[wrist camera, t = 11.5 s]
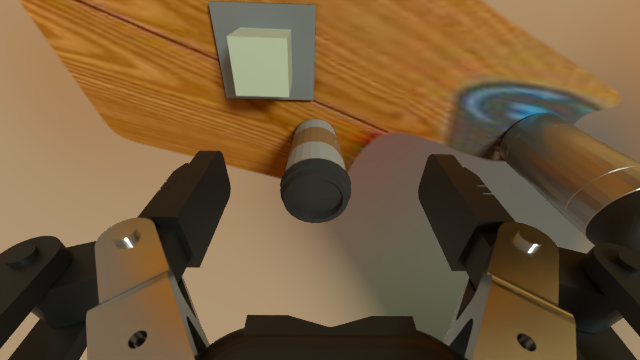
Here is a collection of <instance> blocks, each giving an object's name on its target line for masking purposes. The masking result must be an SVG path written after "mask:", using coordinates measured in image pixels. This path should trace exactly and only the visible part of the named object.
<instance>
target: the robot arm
mask: <svg viewBox="0 0 640 360" xmlns="http://www.w3.org/2000/svg"><path fill="white" fill-rule="evenodd" d="M499 152H500V155H501V157H502V158H503V159H504V160H505V161H506V162H507V163H508V164H509V165H510V166H511V167H512V168H513V169H514V170H515V171H516V172H517V173H518V174H519V175H520V176H521V177H523V179H525V180H526V181H527V182H528V183H529V184H530V185H531V186H532V187H533V188H534V189H535V190H536V191H537V192H538V193H539V194H540V195H541V196H543V197H544V198H545V199H546V200H547V201H548V202H549V203H550V204H551V205H552V206H553V207H554V208H555V209H556V210H557V211H558V212H559V213H561V214H562V215H563V216H564V217H565V218H566V219H567V220H568V221H569V222H570V223H571V224H572V225H573V226H574V227H576V228H577V229H578V230H579V231H580V232H581V233H582V234H583V235H584V236H585V237H586V238H587V239H589V241H591V242H592V243H593V244H594V245H595V247H593V248H592V249H591V250H590V251H589V252H588V253H587V254H585V253H581V252H577V251H573V250H569V249H564V248H560V247H557V245H556V243H555V242H554V241H553V240H552V239H551V238H550V237H549V236H548V235H546V234H545V233H544V232H542V231H540V230H539V229H537V228H535V227H533V226H530V225H527V224H524V223H519V222H515V220H514V219H513V218H512V217H511V216H510V215H509V213H508V212H507V211H506V210H505V209H504V207H503V206H502V205H501V204H500V202H499V201H498V200H497V199H496V197H495V196H494V195H492V194H491V191H490V190H489V189H488V188H487V187H485V184H484V183H483V182H482V180H481V179H480V178H479V177H478V176H477V175H476V174H474V173H473V172H471V171H470V170H468V169H467V168H465V167H464V168H463V167H462V166H461V165H460V163H459V162H458V161H457V160H456V158H455V157H454V156H453V155H451V154H449V155H448V154H447V155H446V154H431V155H430V156H429V157H428V160H427V162H426V166H425V169H424V172H423V175H422V178H421V182H420V185H419V190H418V193H419V200H420V203H421V205H422V207H423V209H424V211H425V213H426V216H427V218H428V220H429V222H430V224H431V227H432V229H433V231H434V233H435V235H436V237H437V239H438V242H439V244H440V246H441V248H442V250H443V252H444V255H445V257H446V259H447V261H448V263H449V266H450V268H451V270H452V271H466V272H467V274H468V276H469V277H468V279H467V280H466V282H465V285H464V288H463V291H462V294H461V297H460V300H459V303H458V306H457V308H456V312H455V315H454V317H453V321H452V324H451V326H450V329H449V331H448V333H447V335H446V337H445V339H444V341H443V342H442V341H440V340H438V339H437V338H435V337H433V336H431V335H429V334H426V333H424V332H421V331H418V330H416V328H415V324H414V320H413V317H412V316H371V317H367V318H363V319H360V320H356V321H353V322H349V323H346V324H342V325H339V326H335V327H326V326H323V325H319V324H316V323H313V322H309V321H306V320H302V319H299V318H295V317H292V316H288V315H247V319H246V323H245V328H243V329H239V330H237V331H234V332H232V333H229V334H227V335H226V336H224V337H222V338H220V339H218V340H217V341H215V342H214V343H212V344H211V345H210V344H209V342H208V340H207V338H206V335H205V333H204V331H203V329H202V327H201V324H200V322H199V319H198V316H197V313H196V311H195V308H194V305H193V303H192V300H191V297H190V295H189V292H188V289H187V287H186V284H185V281H184V279H183V277H182V275H183V273H184V271H185V269H186V267H200V265H201V262H202V260H203V258H204V256H205V253H206V251H207V248H208V246H209V244H210V242H211V239H212V237H213V235H214V232H215V230H216V228H217V225H218V223H219V221H220V218H221V216H222V214H223V211H224V208H225V207H226V204H227V202H228V200H229V197H230V182H229V177H228V173H227V169H226V165H225V161H224V157H223V154H222V152H221V151H199V152H198V153H197V154H196V155H195V157H194V158H193V159H192V161H191V162H190V163H189V164H188V163H185V164H184V165H182V166H181V167H179V168H178V169H176V170H175V171H174V172H173V173H172V174H171V176H170V177H169V178H168V179H167V182H165V183H164V184H163V186H162V187H161V190H159V191H158V192H157V193H156V195H155V196H154V197H153V199H152V200H151V201H150V202H149V204H148V205H147V206H146V207H145V209H144V210H143V211H142V212H141V214H140V215H139V216H138V217H137V218H132V219H128V220H125V221H122V222H119V223H117V224H115V225H113V226H112V227H110V228H109V229H107V230H106V231H105V232H103V233H102V234H101V236H100V237H99V238H98V240H97V241H94V242H90V243H86V244H81V245H76V246H72V247H67V248H66V247H65V246H64V245H63V243H62V242H61V241H60V240H59V239H58V238H56V237H53V236H41V237H36V238H32V239H29V240H26V241H23V242H21V243H19V244H16V245H14V246H12V247H11V248H9V249H8V250H6V251H4V252H3V253H1V254H0V348H1V347H2V346H3V345H4V343H5V342H6V341H7V340H8V339H9V337H10V336H11V335H12V334H13V333H14V331H15V330H16V329H17V328H18V326H19V325H20V324H21V322H23V320H24V319H25V318H26V317H27V315H28V314H29V313H30V312H32V313H33V314H35V315H36V316H37V317H39V318H40V320H39V321H38V322H37V323H36V325H35V326H34V327H33V329H32V330H31V331H30V332H29V334H28V335H27V336H26V337H25V339H24V340H23V341H22V343H21V344H20V345H19V347H18V348H17V349H16V350H15V352H14V353H13V354H12V356H11V357H10V358H9V359H8V360H79V359H80V357H81V355H82V354H83V352H84V350H85V349H86V347H87V356H88V360H637V359H636V358H635V357H634V355H633V354H632V353H631V351H630V350H629V349H628V348H627V346H626V345H625V344H624V343H623V341H622V340H621V339H620V338H619V336H618V335H617V334H616V333H615V331H614V330H613V329H612V328H611V326H612V325H613V324H615V323H616V322H617V321H619V320H621V319H622V318H624V319H625V320H626V321H627V322H628V323H629V325H631V327H632V328H633V329H634V330H635V332H636V333H637V334H638V335H639V336H640V162H639V161H637V160H635V159H633V158H631V157H630V156H628V155H626V154H624V153H622V152H621V151H619V150H617V149H615V148H613V147H612V146H610V145H608V144H606V143H604V142H603V141H601V140H599V139H597V138H595V137H594V136H592V135H590V134H588V133H586V132H585V131H583V130H581V129H579V128H578V127H576V126H574V125H572V124H571V123H569V122H567V121H565V120H563V119H562V118H560V117H558V116H556V115H554V114H551V113H539V114H535V115H532V116H529V117H527V118H525V119H523V120H521V121H519V122H518V123H516V124H515V125H514V126H513V127H512V128H511V129H510V130H509V131H508V132H507V133H506V134H505V136H504V137H503V139H502V141H501V143H500V148H499Z"/></svg>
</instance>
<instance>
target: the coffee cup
mask: <svg viewBox="0 0 640 360" xmlns="http://www.w3.org/2000/svg"><path fill="white" fill-rule="evenodd" d="M280 186H281V189H280V191H281V198H282V200H283V203H284V205H285V207H286V209H287V211H288V212H289V213H290V214H291V215H292V216H294V217H296V218H297V219H299V220H302V221H304V222H310V223H321V222H326V221H329V220H332V219H334V218H336V217H337V216H339V215H340V214H341V213H342V212H343V211H344V210H345V208H346V206H347V204H348V201H349V199H350V194H351V182H350V178H349V176H348V174H347V172H346V170H345V164H344V160H343V157H342V154H341V150H340V147H339V143H338V140H337V138H336V135H335V132H334V130H333V128H332V126H331V125H330V124H328V123H327V122H325V121H323V120H320V119H310V120H307V121H305V122H303V123H301V124H300V125H299V126H298V128H297V129H296V131H295V135H294V138H293V141H292V144H291V148H290V152H289V156H288V160H287V164H286V170H285V173H284V175H283V176H282V179H281V184H280Z"/></svg>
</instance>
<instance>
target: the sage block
mask: <svg viewBox="0 0 640 360" xmlns="http://www.w3.org/2000/svg"><path fill="white" fill-rule="evenodd" d="M227 42H228V48H229V54H230V60H231V67H232V73H233V79H234V85H235V92H236V96H262V97H289V95H290V90H291V85H292V50H291V29H267V28H244V27H240V28H238V29H237V30H235V31H234V32H232V33H231V34H229V35H228V36H227Z"/></svg>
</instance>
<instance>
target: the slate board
mask: <svg viewBox="0 0 640 360" xmlns="http://www.w3.org/2000/svg"><path fill="white" fill-rule="evenodd" d="M208 3H209V8H210V14H211V19H212V24H213V29H214V35H215V40H216V45H217V50H218V56H219V61H220V66H221V71H222V76H223V82H224V87H225V92H226V97H227V98H242V99H285V100H314V59H315V5H311V4H285V3H259V2H232V1H208ZM240 27H244V28H267V29H291V50H292V85H291V90H290V95H289V97H262V96H236V92H235V85H234V79H233V73H232V67H231V60H230V54H229V48H228V42H227V36H228V35H229V34H231V33H232V32H234V31H235V30H237V29H238V28H240Z"/></svg>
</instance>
